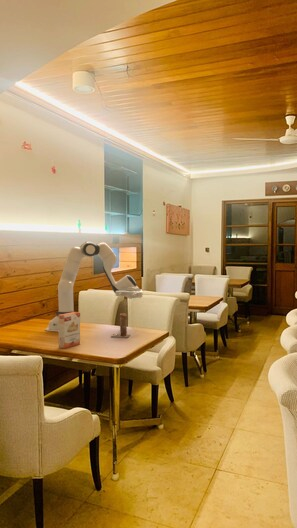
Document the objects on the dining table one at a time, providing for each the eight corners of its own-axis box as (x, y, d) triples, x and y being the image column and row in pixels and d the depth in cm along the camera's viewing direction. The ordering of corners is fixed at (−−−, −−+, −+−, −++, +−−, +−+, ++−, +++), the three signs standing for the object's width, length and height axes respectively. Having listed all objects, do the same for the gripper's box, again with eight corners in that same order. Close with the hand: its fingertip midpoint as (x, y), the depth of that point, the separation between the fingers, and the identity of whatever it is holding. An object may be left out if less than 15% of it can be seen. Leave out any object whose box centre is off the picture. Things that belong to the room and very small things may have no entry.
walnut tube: (119, 336, 271) (119, 314, 271) (120, 334, 276) (120, 313, 275) (125, 336, 271) (125, 314, 270) (127, 334, 275) (127, 313, 275)
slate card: (110, 337, 271) (110, 336, 271) (113, 334, 279) (113, 333, 279) (127, 338, 269) (127, 336, 269) (130, 335, 277) (130, 334, 277)
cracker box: (65, 349, 241) (64, 315, 240) (58, 347, 244) (57, 314, 243) (80, 344, 253) (80, 312, 252) (74, 342, 256) (73, 311, 255)
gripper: (117, 288, 299) (113, 290, 285) (144, 289, 296) (140, 291, 282) (117, 296, 299) (113, 298, 286) (143, 297, 296) (140, 299, 282)
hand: (126, 295), depth 284 cm, fingers open, 8 cm apart
